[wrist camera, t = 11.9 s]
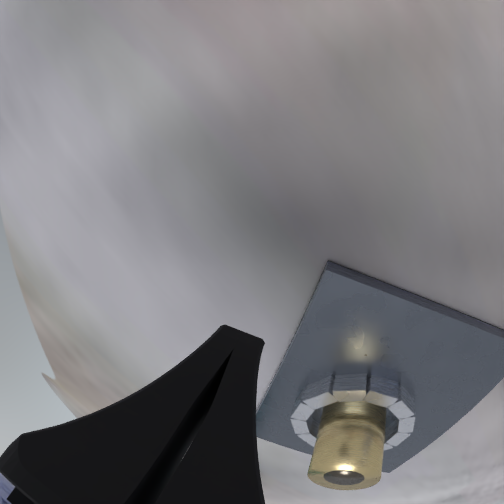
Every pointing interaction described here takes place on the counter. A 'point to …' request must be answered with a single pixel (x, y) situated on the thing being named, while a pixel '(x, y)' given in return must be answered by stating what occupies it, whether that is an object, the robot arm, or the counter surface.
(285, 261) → the counter surface
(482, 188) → the counter surface
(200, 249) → the counter surface
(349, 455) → the brass bushing
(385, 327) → the jig plate
